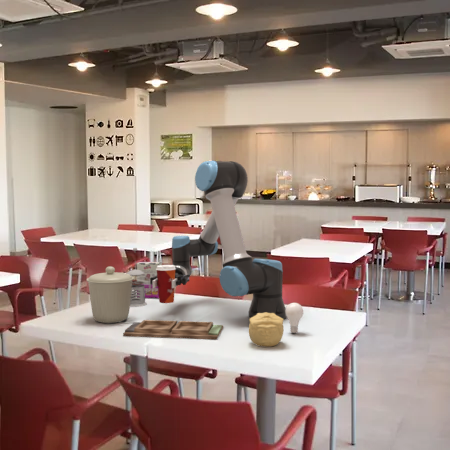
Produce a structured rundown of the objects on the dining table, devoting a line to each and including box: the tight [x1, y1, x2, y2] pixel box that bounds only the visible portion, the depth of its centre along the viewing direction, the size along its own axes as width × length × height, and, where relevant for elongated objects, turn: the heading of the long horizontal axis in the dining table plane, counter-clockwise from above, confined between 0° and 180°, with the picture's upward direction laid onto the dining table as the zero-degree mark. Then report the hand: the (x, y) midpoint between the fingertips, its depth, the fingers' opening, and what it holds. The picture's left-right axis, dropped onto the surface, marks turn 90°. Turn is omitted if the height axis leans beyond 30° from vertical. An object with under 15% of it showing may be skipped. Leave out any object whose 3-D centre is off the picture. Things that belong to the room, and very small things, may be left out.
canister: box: [86, 265, 135, 324], centre depth 230 cm, size 18×18×21 cm
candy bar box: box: [135, 261, 163, 299], centre depth 275 cm, size 11×5×16 cm, turn 81°
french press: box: [126, 247, 151, 308], centre depth 259 cm, size 10×12×25 cm
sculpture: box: [248, 312, 285, 348], centre depth 196 cm, size 12×12×11 cm
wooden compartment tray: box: [122, 319, 224, 340], centre depth 212 cm, size 33×16×2 cm, turn 82°
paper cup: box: [156, 264, 176, 304], centre depth 227 cm, size 8×8×14 cm
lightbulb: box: [285, 302, 304, 335], centre depth 210 cm, size 6×6×11 cm
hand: (163, 284), depth 223 cm, fingers closed on paper cup, 7 cm apart
